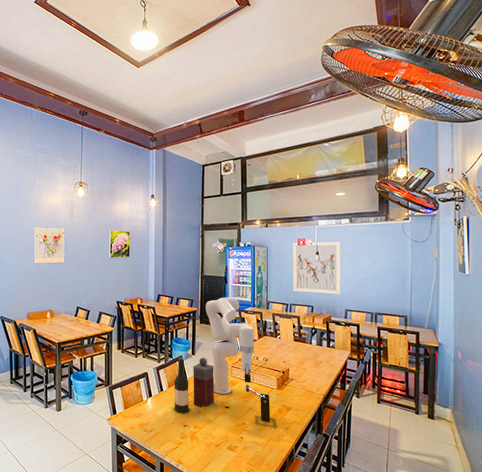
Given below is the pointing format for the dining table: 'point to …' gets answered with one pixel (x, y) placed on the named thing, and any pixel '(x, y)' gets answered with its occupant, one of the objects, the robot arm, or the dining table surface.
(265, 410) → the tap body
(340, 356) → the dining table surface
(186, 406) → the wine bottle
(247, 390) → the faucet lever
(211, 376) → the square decanter
